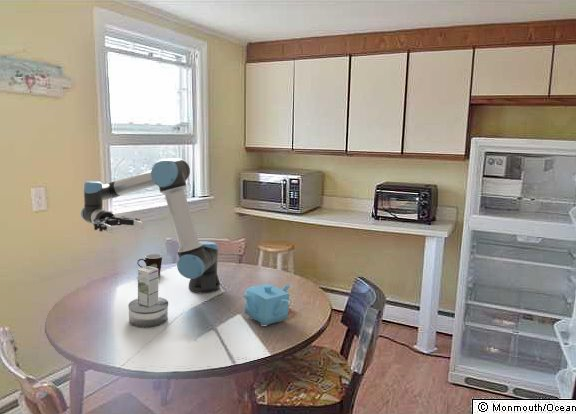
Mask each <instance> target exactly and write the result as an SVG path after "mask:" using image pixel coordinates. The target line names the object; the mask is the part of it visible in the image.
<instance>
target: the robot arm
mask: <svg viewBox="0 0 576 414" xmlns="http://www.w3.org/2000/svg"><path fill="white" fill-rule="evenodd" d="M190 174H191V168H190V165H189V164H188V163H187V162H186V161H185V160H184V159H182V158H179V157H178V158H175V157H174V158H163V159H161V160H158V161H156V162H155V163H154V164H153V166H152V168H151V170H148V171H146V172H142V173H139V174H135V175H131V176H128V177H126V178H125V177H124V178H121V179H118V180H114V181H110V182H108V183H107V182H106V183H103V182H101V181H98V180H97V181H96V180H87V181H85V182H84V187H83V197H84V200H83V201H84V206H83V208H82V209H81V212H80V217H81V218H82V219H83V220H84V221H85V222H87V223H89V224H92V225H93V228H94V231H98V230H99V232H104V231H105V232H107V233H109V234H110V233H111V234H113V226H123V225H124V226H125V225H126V226H133V227H135V228H139V229H141V230H142V229H144V222H142V221H141V218H138V217H128V216H127V217H126V216H121V217H120V216H119V217H118V216H116V215H114V213H113V212H111V211H108V210H105V209H103V201H106V200H110V199H115V198H118V197H120V196H125V195H128V194H131V193H134V192H139V191H141V190H142V191H143V190H145V189H149V188H153V187H156V186H157V187H158V189H159V192H160V193H161V194H162V195H164V197H165V199H166V203H167V206H168V207H167V208H168V211H169V214H170V218H171V221H172V225H173V227H174V231H175V236H176V238H177V243H178V245H179V247H178V249H177V255H178V261H177V263H176V268H177V272H179V274H180V275H181V276H182V277H184V278H186V279H189V282H188V289H189V290H190V291H191V292H193V293H199V294H211V293H215V292H217V291H219V290H220V289H221V282H220V278H219V276H218V275H219V274H218V256H219V255H218V254H219V245H218V243H216V242H213V241H207V240H206V241H203V240H201V241H200V240H199V238H198V234H197V232H196V227H195V225H194V221H193V218H192V213H191V210H190V205H189V203H188V199H187V195H186V192H185V189H186V187H187V182H186V181H187V180H188V179H189V177H190Z"/></svg>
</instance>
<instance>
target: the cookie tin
mask: <svg viewBox="0 0 576 414" xmlns="http://www.w3.org/2000/svg"><path fill="white" fill-rule="evenodd" d="M127 305H128V323H129V325H130V326H132V327H134V328H138V329H152V328H157V327H160V326H163V325H164V324H166V322H167V321H168V316H169V315H168V314H169V311H168V310H169V301H168V300H167V299H166V298H163V297H161V296H158V303H156V304H154V305H152V306H150V307H147V306H143V305H140V304H138V298H135V299H133V300H131V301H130V302H129V303H128V304H127Z"/></svg>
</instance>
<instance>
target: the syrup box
mask: <svg viewBox="0 0 576 414" xmlns="http://www.w3.org/2000/svg"><path fill="white" fill-rule="evenodd" d="M142 267H143V268H141V267H140V268H139V269H137V299H138V304H140V305H143V306H147V307H150V306H152V305H154V304H156V303H158V297H159V276H158V268H154V267H149V266H146V265H145V266H142Z"/></svg>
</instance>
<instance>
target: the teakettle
mask: <svg viewBox="0 0 576 414" xmlns="http://www.w3.org/2000/svg"><path fill="white" fill-rule="evenodd" d="M291 286H292V285H291V284H286V285H285V286H283V287H282V289H280V288H279V287H276V286H274V284H273V285H272V284H271V283H266V284H260V285H252V286H250V287H248V288H245V294H242V296H241V297H242V298H245V300H244V301H245V303H244V313H245V314H246V316H247V315H248V316H249V317H250V318H252V319H255V320H254V321H256V322H259V323H260V325H261V324H262V325H272V324H274V323H277V322H278V321H281V322H282V321H285V320H287V319H289V318H288V317H289V307H290V306H289V305H290V293H288V292H287V291H288V289H289V288H290V287H291Z"/></svg>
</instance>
